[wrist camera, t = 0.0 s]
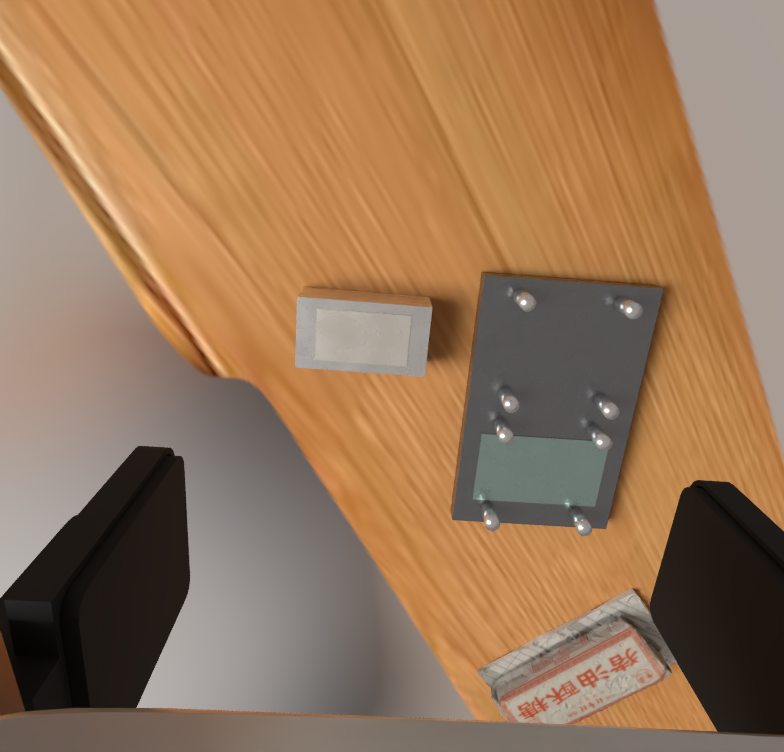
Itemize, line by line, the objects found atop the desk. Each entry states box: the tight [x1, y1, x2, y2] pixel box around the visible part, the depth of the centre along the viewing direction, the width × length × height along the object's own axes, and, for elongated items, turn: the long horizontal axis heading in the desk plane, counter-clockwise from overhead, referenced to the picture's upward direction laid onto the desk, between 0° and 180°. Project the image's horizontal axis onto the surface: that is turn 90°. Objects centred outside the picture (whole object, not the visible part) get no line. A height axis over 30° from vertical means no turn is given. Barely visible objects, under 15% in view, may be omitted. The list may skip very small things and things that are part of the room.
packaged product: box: [478, 589, 676, 725], centre depth 58 cm, size 18×5×10 cm
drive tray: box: [451, 272, 663, 536], centre depth 48 cm, size 22×14×4 cm, turn 176°
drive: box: [295, 287, 432, 377], centre depth 46 cm, size 6×10×4 cm, turn 85°
